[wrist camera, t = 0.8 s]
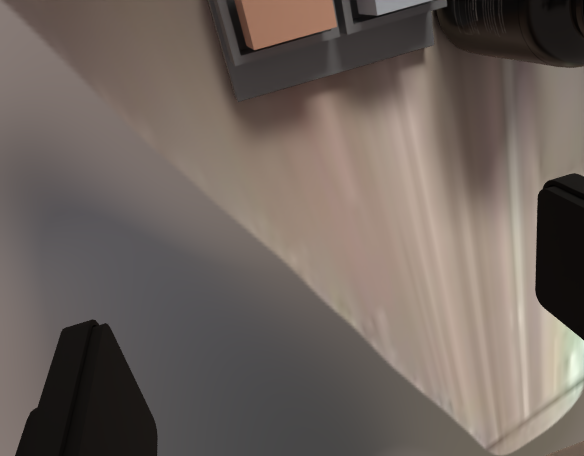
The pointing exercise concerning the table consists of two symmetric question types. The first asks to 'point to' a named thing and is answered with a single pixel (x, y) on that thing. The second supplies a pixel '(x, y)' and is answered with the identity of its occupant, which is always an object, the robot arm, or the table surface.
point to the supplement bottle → (518, 29)
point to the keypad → (319, 45)
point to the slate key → (384, 6)
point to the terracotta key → (283, 20)
